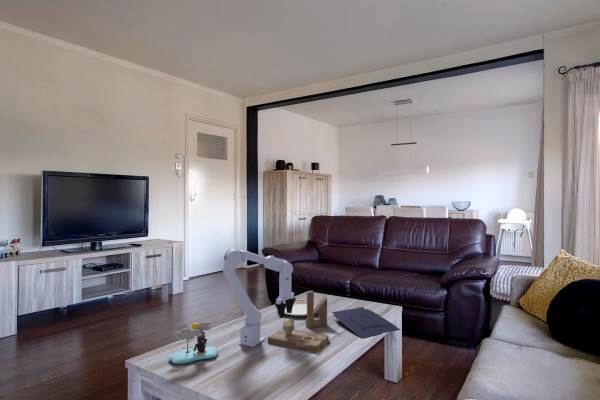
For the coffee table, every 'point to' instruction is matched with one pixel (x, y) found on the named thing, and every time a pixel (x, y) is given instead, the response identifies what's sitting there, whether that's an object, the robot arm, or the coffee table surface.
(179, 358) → the penguin figurine
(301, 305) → the dinner plate
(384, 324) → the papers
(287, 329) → the beige cylinder
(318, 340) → the board
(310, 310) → the wooden block
